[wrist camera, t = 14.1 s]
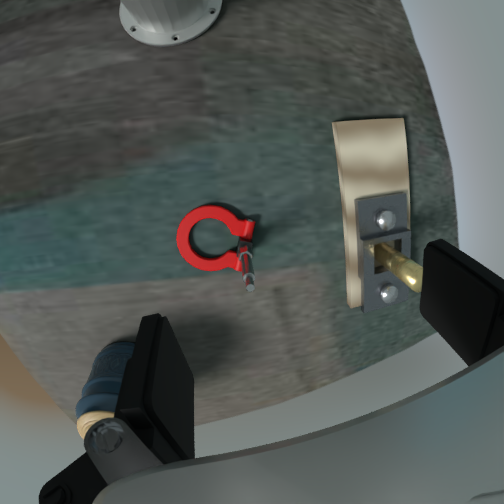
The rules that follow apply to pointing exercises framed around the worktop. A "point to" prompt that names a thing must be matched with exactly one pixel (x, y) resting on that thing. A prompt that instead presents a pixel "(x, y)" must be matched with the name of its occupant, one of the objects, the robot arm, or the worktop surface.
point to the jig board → (368, 178)
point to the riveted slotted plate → (378, 231)
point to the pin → (399, 265)
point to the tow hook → (232, 259)
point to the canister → (103, 385)
